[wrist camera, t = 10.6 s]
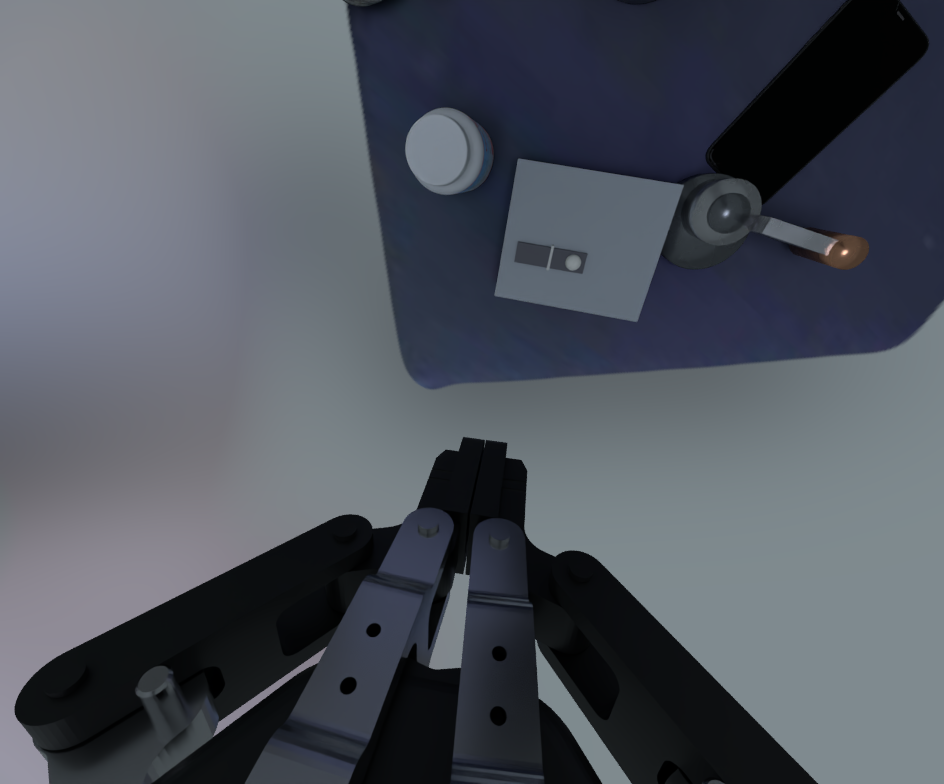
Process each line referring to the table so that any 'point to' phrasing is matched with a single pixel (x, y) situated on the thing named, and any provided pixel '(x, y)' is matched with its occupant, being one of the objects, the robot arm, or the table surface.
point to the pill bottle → (449, 152)
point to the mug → (362, 2)
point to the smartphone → (819, 93)
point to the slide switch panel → (584, 238)
